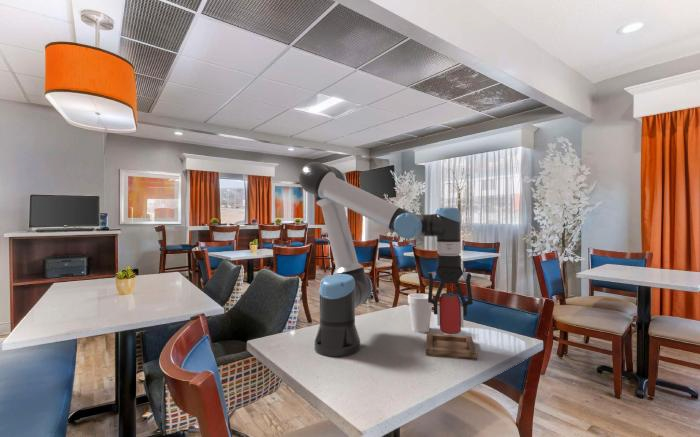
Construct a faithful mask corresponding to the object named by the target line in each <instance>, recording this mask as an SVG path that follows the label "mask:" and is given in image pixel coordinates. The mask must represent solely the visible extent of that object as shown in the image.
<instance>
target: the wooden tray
mask: <svg viewBox="0 0 700 437" xmlns="http://www.w3.org/2000/svg"><path fill="white" fill-rule="evenodd" d="M425 341H426V342H425V356H429V357H431V356H432V357H441V358H449V359H450V358H452V359H464V360H472V361H473V360H474V361H478V352H477V348H476V346H475V342H474V340H473V338H472V336H471V335H457V334H447V333H444V332H443V334H441V333H429V332H426V339H425Z"/></svg>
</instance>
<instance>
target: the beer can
mask: <svg viewBox="0 0 700 437" xmlns="http://www.w3.org/2000/svg"><path fill="white" fill-rule="evenodd" d="M438 304H439V305H440V326H439V330H440V331H441V333H443V334H444V333H447V334H453V335H457V334H460V333H461V331H462V327H461V312H460V305H461V299H460V296H459V293H453V292H444V293H442V292H441V295H440V298H439V300H438Z"/></svg>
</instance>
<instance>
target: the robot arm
mask: <svg viewBox="0 0 700 437" xmlns="http://www.w3.org/2000/svg"><path fill="white" fill-rule="evenodd" d="M298 175H299V176H298V180H299V184H300V186H301V188H302V189H303V190H304V191H305V192H306V193H308V194H312V195H313V197H314V199H315V204H316V205H317V206H319V207H320V209H321V213H322V215H323V216H322V217H323V218H324V219H323V221H324V225H325V227H326V228H325V229H326V233H327V237H328V241H329V245H330V249H331V253H332V257H333V262H334V265H335V269H334V271H333V274H329V275H326V276H325V277H322V279H321V280H320V282H319V288H318V291H319V292H318V294H319V326H318V330H317V333H316V335H315V340H314V351H315V352H316V353H318V354H320V355H322V356H328V357H346V356H350V355H351V356H352V355H354V354H356V353H358V352H359V351H360V349H361V339H360V336H359V332H358V329H357V327H356V308H358V307H359V306H362V305H363V304H365V303H366V302H367V300H369V298H370V297H371V295H372V292H373V283H372V280H371V278H370V277H369V276H368V275H367V274H366V272H365V269H364V266H363V264H361V263H359V260H358V257H357V253H356V248H355V244H354V240H353V237H352V233H351V229H350V224H349V220H348V217H347V213H346V212H347V211H346V209H345V208H347V209H349V210H351V211H353V212H355V213H356V214H359V215H361V216H363V217H365V218H367V219H369V220H371V221H373V222H375V223H377V224H379V225H381V226H382V227H385V228H386V229H389V230H391V231H393V232H395V233H396V234H397V236H399V237H400V238H403V239H407V240H410V239H414V238H418V237H419V238H420V237H423V238H424V237H436V253H437V256H436V259H437V260H436V262H437V265H436V267H437V268H436V270H435V271H428V279H429V282H428V284H429V285H428V302H429V303H432V306H433V314H434V315H437V319H436V320H437V326H439V327H440V305H439V301H440V297H441V294H442V291H443V289H444V286H445V284H451V285H452V284H453V285H455V288H456V290H457V294H458V295H459V296H458V297H459V299H460V302H461V304H460V312H461V328H464V326H465V325H464V317H467V314H468V311H467V310H468V306H470V305H473V303H474V302H473V295H472V286H471V279H472V274H471V273H470V272H465V271H463V270H462V256H461V255H460V254H461V253H462V246H461V244H462V243H461V234H462V233H461V223H462V222H461V215H460V213H461V212H460V210H459V208H457V207H438V208H437V209H436V210H435V213H432V214H426V213H425V214H424V213H423V214H417V213H413V212H411V211H408V210H406V209H404V208H401V207H400V206H397V205H395V204H393V203H391V202H389V201H388V200H385V199H382V198H381V197H380V196H379V197H378V196H376V195H374V194H373V193H370V192H368V191H366V190H364V189H362V188H360V187H358V186H355V185H353V184H351V183H349V182H347V180H346V177H345V175H344V174H343V172H342V171H341V170H339V169H338V168H336V167H334V166H331V165H327V164H325V163H322V162H319V161H313V162H311V161H310V162H309V163H306V164H305V165H304V166H303V167H302V169H300V172H299V174H298ZM436 276H437V277H438V278H439V280H440V281H439V284H438V288H437V289H436V293H435V295H434V297H433V299H432V296H433V292H434V291H433V290H434V279H436ZM462 277H463V279H464V280H465V287H466V289H465V290H466V296H467V297H466V298H467V300H466V299H465V296H464V293H463V290H462V287H461V286H460V283H459V280H460V278H462Z"/></svg>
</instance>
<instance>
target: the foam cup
mask: <svg viewBox="0 0 700 437" xmlns="http://www.w3.org/2000/svg"><path fill="white" fill-rule="evenodd" d="M428 294H429V293H428ZM428 294H427V293H409V294H408V295H407V302H408V308H409V316H410V323H411V324H410V325H411V330H412V331H413V332H416V333H429V331H430V327H431V326H430V325H431V318H432V309H433V304H432V303H429V302H428ZM432 299H434V296H433V295H432Z"/></svg>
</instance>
